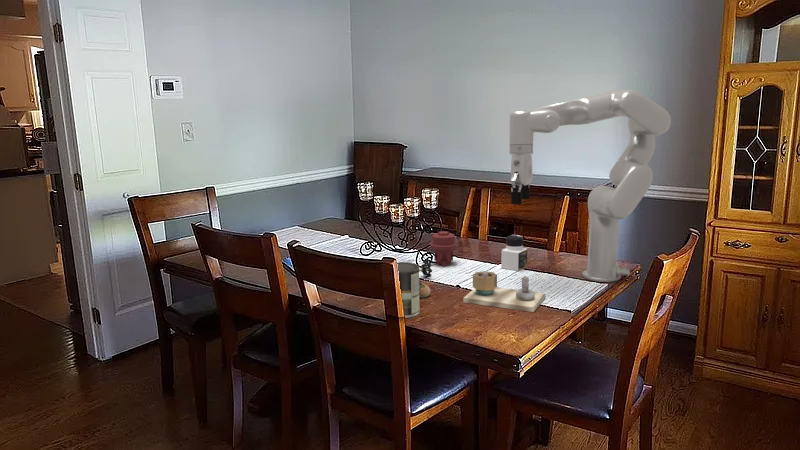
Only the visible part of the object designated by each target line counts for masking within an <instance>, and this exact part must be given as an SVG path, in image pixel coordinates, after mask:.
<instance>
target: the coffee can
mask: <svg viewBox="0 0 800 450" xmlns="http://www.w3.org/2000/svg"><path fill="white" fill-rule="evenodd" d="M396 263H397V264H398V271H399V281H400V289H401V295H402V302H403V309H404V316H405V318H404V319H407V318H413V317H416V316H418V315H420V314H421V313H420V312H421V311H420V297H419V282H420V272H419V268H420V265H419V264H417V263H413V262H406V261H398V262H396Z"/></svg>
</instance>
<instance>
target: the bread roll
mask: <svg viewBox="0 0 800 450" xmlns="http://www.w3.org/2000/svg"><path fill="white" fill-rule="evenodd" d="M429 295H430V296H431V288H430V287H429V286H428V285H427V284H424V283H423V282H420V281H419V298H421V299H424V298H428V297H429Z"/></svg>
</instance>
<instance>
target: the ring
mask: <svg viewBox="0 0 800 450" xmlns="http://www.w3.org/2000/svg"><path fill="white" fill-rule="evenodd" d="M483 272H487V273H488V277H482V273H483ZM496 287H498V275H497V274H496V273H495V272H494V271H485V270H484V271H483V270H482V271H476V272H474V273H473V274H472V288H473V289H477V290H484V291H488V290H494V289H495V288H496Z"/></svg>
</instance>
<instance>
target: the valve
mask: <svg viewBox="0 0 800 450" xmlns="http://www.w3.org/2000/svg"><path fill="white" fill-rule="evenodd" d="M429 262H430V261H429V259H425V260H423V261H422V264H421V266H420V267H419V273H420V272H421V274H422V275H424V277H425V278H426V279H428V278H427V277H429V278H431V277H432V272H433V269H432V268H431V266H432V263H431V262H430V263H429Z"/></svg>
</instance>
